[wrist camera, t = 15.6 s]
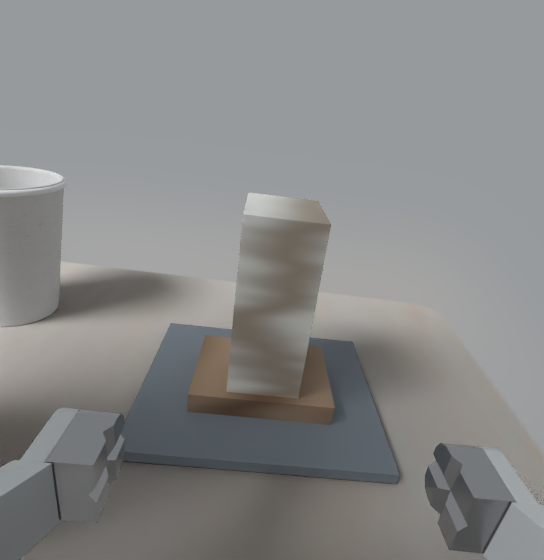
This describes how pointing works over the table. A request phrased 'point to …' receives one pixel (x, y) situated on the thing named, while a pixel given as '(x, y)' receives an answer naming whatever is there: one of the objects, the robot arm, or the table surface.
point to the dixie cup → (29, 243)
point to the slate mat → (256, 421)
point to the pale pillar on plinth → (271, 321)
